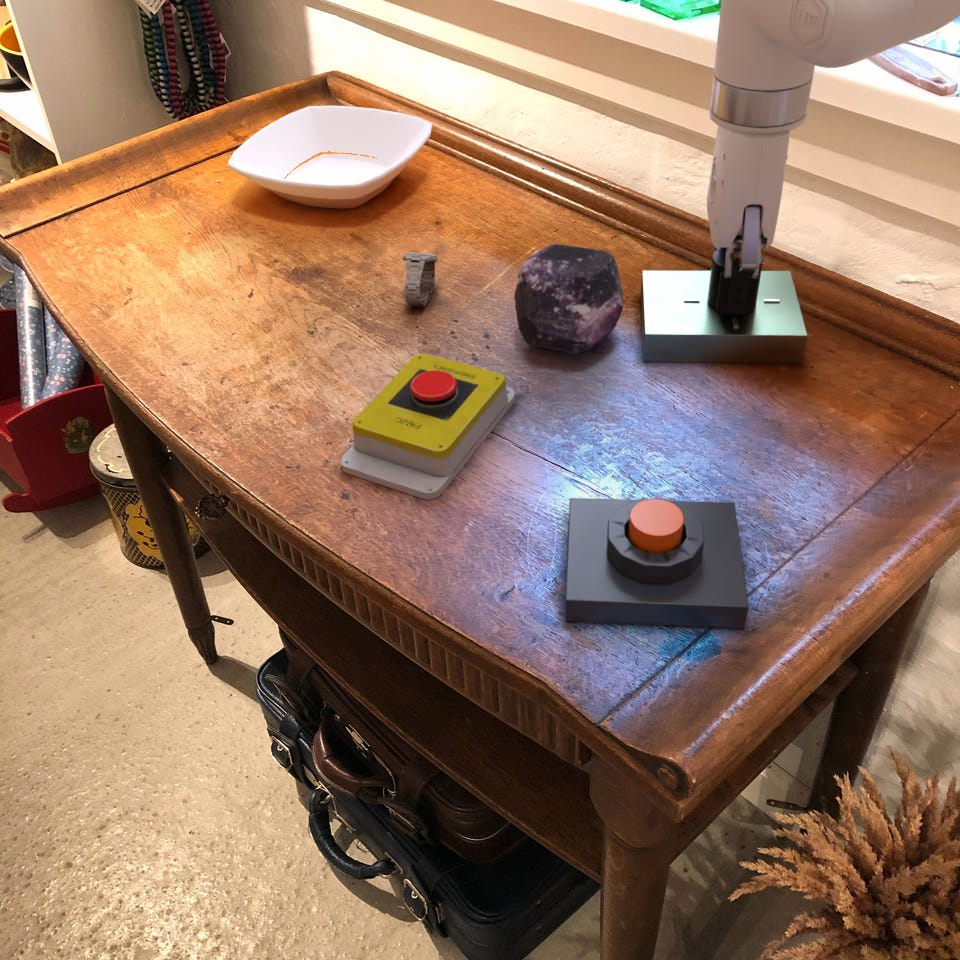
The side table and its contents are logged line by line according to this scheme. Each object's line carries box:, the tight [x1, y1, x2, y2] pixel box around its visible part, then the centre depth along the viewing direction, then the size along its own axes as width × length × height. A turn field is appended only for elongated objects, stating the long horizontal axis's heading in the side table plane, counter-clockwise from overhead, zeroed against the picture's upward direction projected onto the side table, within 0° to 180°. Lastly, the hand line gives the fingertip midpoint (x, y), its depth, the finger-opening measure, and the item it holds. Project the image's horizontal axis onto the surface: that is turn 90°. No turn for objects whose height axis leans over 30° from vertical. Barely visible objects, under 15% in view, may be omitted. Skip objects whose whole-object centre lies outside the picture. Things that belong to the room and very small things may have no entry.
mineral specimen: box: [513, 243, 624, 354], centre depth 88 cm, size 10×10×10 cm
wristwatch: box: [402, 252, 438, 307], centre depth 96 cm, size 4×6×5 cm, turn 168°
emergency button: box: [340, 353, 517, 500], centre depth 81 cm, size 9×4×15 cm
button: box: [629, 498, 684, 553], centre depth 66 cm, size 4×4×2 cm
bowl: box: [226, 105, 433, 210], centre depth 117 cm, size 22×22×5 cm
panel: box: [640, 270, 808, 365], centre depth 90 cm, size 14×11×3 cm
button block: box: [564, 497, 750, 629], centre depth 68 cm, size 12×10×4 cm
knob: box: [707, 247, 764, 309], centre depth 87 cm, size 4×4×5 cm
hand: (731, 295), depth 89 cm, fingers closed on knob, 4 cm apart
